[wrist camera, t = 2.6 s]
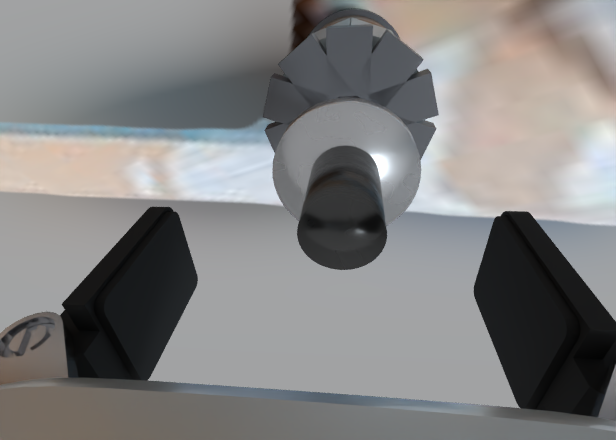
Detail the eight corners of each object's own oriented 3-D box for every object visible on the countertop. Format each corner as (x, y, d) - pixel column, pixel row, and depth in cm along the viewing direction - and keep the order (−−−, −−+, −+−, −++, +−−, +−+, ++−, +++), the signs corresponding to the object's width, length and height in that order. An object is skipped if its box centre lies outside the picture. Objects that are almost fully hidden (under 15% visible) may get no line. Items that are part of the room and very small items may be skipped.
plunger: (403, 57, 19) (460, 145, 9) (393, 156, 23) (426, 307, 12) (297, 60, 20) (232, 146, 10) (303, 156, 23) (260, 298, 13)
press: (411, 6, 29) (453, 22, 16) (398, 139, 35) (420, 223, 23) (294, 11, 30) (252, 31, 18) (302, 140, 36) (275, 219, 24)
